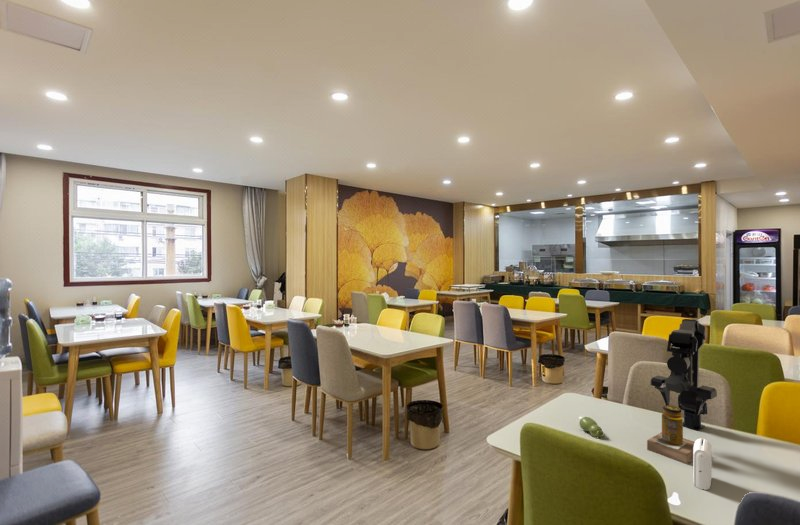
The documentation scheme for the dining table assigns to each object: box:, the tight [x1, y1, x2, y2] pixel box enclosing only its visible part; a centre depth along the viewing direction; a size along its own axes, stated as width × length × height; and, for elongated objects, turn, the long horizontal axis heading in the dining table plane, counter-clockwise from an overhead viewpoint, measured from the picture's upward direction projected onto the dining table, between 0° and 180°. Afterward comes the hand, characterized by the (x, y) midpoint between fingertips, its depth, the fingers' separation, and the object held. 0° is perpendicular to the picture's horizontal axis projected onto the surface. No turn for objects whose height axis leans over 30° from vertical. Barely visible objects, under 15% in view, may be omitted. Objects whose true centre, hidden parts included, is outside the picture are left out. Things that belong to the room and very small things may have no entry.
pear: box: [579, 416, 604, 439], centre depth 153 cm, size 6×5×10 cm
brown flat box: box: [646, 431, 695, 465], centre depth 138 cm, size 12×12×4 cm
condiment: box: [655, 404, 688, 449], centre depth 138 cm, size 7×8×12 cm
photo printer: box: [692, 438, 713, 491], centre depth 120 cm, size 10×4×12 cm, turn 140°
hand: (682, 410), depth 142 cm, fingers open, 9 cm apart
